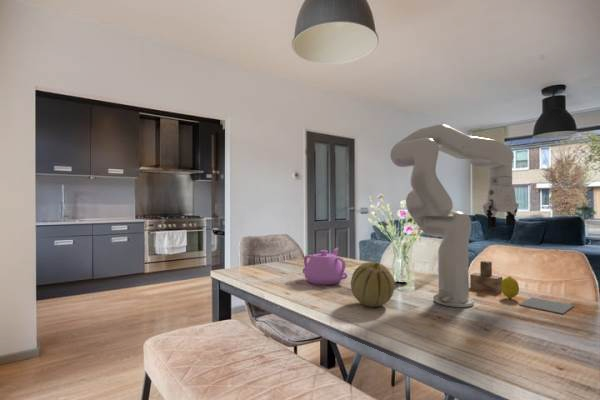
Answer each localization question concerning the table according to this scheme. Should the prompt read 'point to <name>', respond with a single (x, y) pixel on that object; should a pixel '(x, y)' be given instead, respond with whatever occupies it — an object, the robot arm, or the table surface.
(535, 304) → the slate mat
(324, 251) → the teapot
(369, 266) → the cantaloupe
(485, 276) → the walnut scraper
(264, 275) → the table surface
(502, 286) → the lemon
